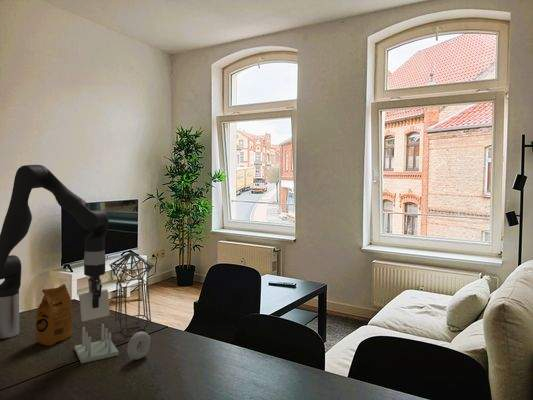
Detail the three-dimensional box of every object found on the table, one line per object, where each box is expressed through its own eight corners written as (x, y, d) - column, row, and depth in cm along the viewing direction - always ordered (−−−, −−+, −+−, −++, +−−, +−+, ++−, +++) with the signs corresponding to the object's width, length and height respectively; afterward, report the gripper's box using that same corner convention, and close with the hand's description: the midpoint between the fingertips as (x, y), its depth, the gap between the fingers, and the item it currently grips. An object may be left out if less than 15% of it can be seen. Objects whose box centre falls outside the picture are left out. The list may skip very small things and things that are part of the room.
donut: (131, 365, 144) (131, 337, 143) (124, 362, 145) (125, 335, 145) (152, 355, 152) (152, 328, 152) (145, 352, 154) (145, 327, 154)
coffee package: (31, 343, 161) (31, 288, 161) (58, 332, 173) (58, 282, 172) (49, 347, 158) (49, 291, 157) (75, 336, 169) (75, 284, 168)
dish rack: (74, 349, 156) (74, 327, 156) (109, 342, 163) (109, 322, 163) (81, 363, 144) (81, 339, 144) (118, 355, 152) (118, 332, 151)
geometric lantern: (156, 334, 174) (155, 253, 171) (118, 342, 165) (117, 257, 162) (145, 322, 187) (143, 248, 184) (109, 330, 178) (107, 251, 175)
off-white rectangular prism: (81, 319, 154) (78, 294, 153) (108, 313, 160) (106, 288, 159) (82, 321, 152) (79, 295, 151) (109, 315, 158) (107, 290, 157)
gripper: (80, 260, 158) (81, 303, 159) (87, 266, 147) (87, 313, 148) (101, 258, 163) (101, 300, 163) (109, 264, 151) (109, 310, 152)
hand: (94, 306), depth 155 cm, fingers closed on off-white rectangular prism, 2 cm apart
